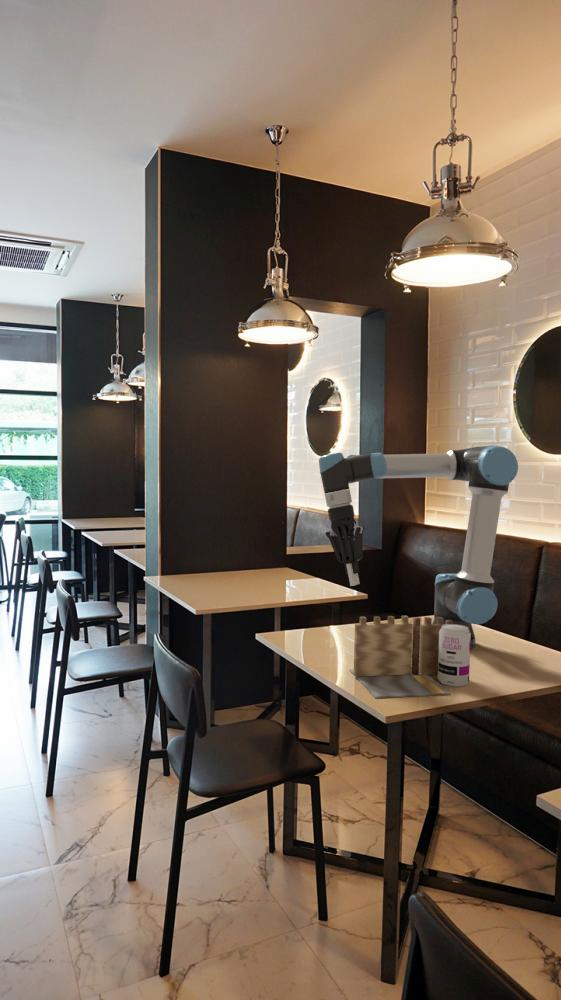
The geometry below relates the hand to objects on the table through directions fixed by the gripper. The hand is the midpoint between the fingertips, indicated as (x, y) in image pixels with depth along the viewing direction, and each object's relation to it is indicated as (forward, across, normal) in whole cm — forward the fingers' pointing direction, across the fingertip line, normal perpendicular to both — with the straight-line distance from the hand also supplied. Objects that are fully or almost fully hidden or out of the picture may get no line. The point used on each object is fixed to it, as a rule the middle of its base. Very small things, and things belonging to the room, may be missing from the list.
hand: (355, 584), depth 196 cm
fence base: (+26, +17, -7) cm, 32 cm away
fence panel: (+24, +10, -8) cm, 27 cm away
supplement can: (+29, +25, +1) cm, 38 cm away
